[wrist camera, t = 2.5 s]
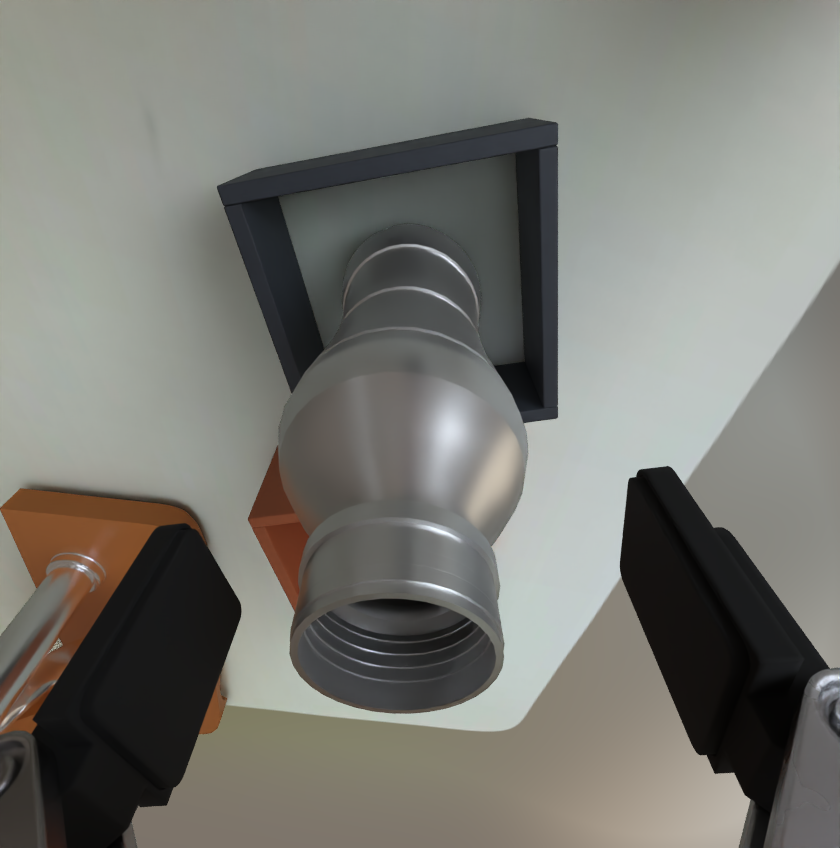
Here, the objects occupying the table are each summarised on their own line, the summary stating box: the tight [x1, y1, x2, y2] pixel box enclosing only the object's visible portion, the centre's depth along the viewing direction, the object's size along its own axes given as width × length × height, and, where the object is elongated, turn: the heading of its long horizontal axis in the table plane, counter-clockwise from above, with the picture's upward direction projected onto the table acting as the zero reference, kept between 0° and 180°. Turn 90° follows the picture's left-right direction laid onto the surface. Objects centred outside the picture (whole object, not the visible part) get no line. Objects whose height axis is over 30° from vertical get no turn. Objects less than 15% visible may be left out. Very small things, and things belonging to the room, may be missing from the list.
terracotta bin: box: [248, 445, 309, 611], centre depth 30 cm, size 12×12×7 cm
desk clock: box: [0, 488, 227, 809], centre depth 33 cm, size 12×30×20 cm, turn 171°
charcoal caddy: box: [217, 118, 558, 423], centre depth 22 cm, size 12×12×5 cm
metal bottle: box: [278, 224, 528, 713], centre depth 16 cm, size 6×7×20 cm
